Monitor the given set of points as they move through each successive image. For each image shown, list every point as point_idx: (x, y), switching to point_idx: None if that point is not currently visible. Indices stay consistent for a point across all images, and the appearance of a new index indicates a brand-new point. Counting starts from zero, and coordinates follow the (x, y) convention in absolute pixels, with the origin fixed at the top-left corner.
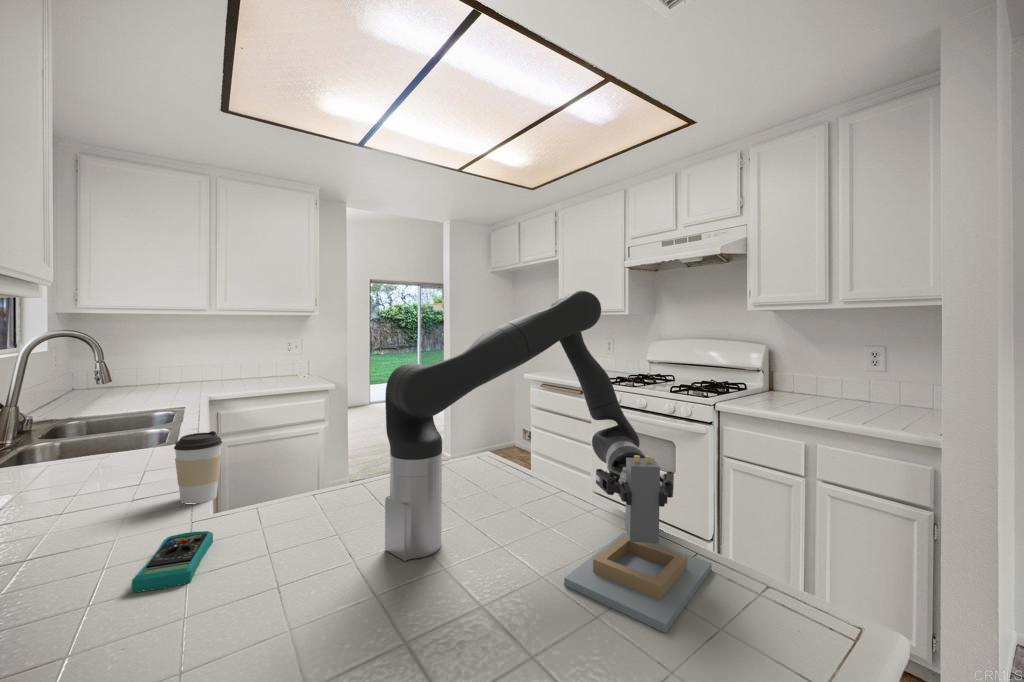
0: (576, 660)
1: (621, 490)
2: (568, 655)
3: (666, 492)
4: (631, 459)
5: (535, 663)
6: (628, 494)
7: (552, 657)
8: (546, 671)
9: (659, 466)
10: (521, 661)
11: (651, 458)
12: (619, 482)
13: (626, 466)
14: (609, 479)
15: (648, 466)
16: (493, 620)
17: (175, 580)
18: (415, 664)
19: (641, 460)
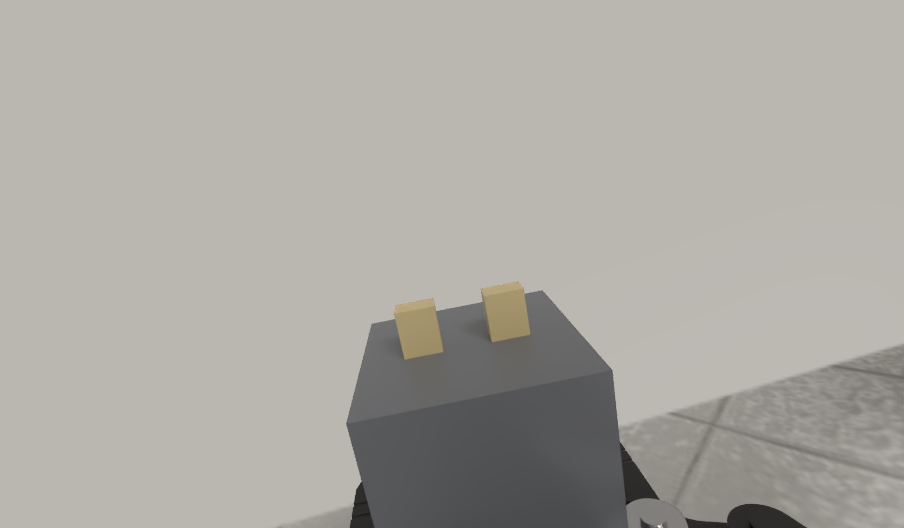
0: (640, 440)
1: (621, 448)
2: (658, 444)
3: (355, 503)
4: (555, 352)
5: (699, 418)
6: None
7: (681, 433)
8: (673, 413)
9: (371, 327)
10: (722, 414)
11: (366, 418)
12: (667, 506)
13: (613, 434)
14: (769, 518)
15: (439, 312)
16: (866, 464)
17: None
18: (862, 368)
19: (471, 360)
